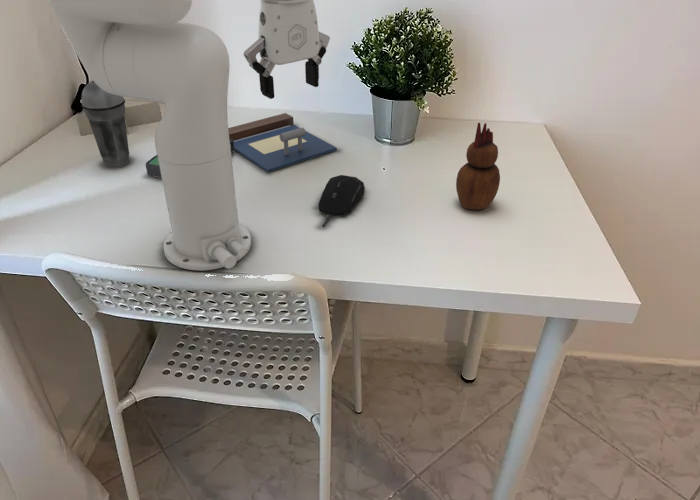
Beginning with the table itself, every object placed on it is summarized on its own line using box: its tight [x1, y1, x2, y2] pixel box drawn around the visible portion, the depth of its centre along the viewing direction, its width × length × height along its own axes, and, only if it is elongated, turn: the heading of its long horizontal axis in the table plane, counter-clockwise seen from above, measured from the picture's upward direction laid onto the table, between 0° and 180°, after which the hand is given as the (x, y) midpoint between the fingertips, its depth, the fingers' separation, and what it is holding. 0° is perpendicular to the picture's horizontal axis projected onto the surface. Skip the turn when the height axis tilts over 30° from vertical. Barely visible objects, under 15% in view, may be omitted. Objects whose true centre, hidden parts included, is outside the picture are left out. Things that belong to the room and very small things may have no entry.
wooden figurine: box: [455, 122, 501, 211], centre depth 93 cm, size 7×6×15 cm
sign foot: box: [228, 112, 295, 141], centre depth 121 cm, size 3×17×2 cm, turn 129°
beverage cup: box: [81, 80, 131, 169], centre depth 104 cm, size 7×7×20 cm
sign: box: [234, 124, 338, 173], centre depth 114 cm, size 15×16×5 cm
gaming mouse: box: [317, 174, 366, 228], centre depth 96 cm, size 6×15×4 cm, turn 162°
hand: (290, 90), depth 106 cm, fingers open, 9 cm apart
